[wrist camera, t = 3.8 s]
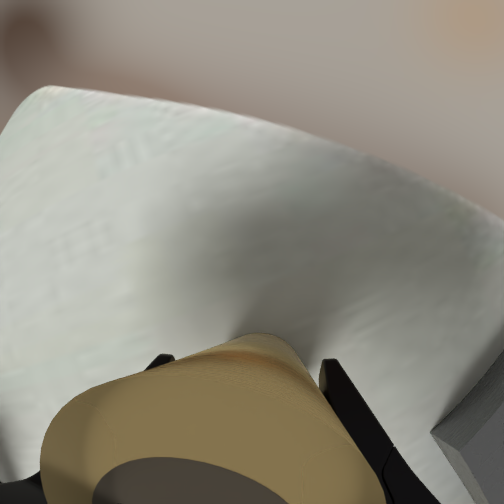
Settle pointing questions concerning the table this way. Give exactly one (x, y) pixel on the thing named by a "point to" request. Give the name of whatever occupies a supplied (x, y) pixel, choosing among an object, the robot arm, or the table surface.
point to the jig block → (478, 437)
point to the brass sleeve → (207, 436)
